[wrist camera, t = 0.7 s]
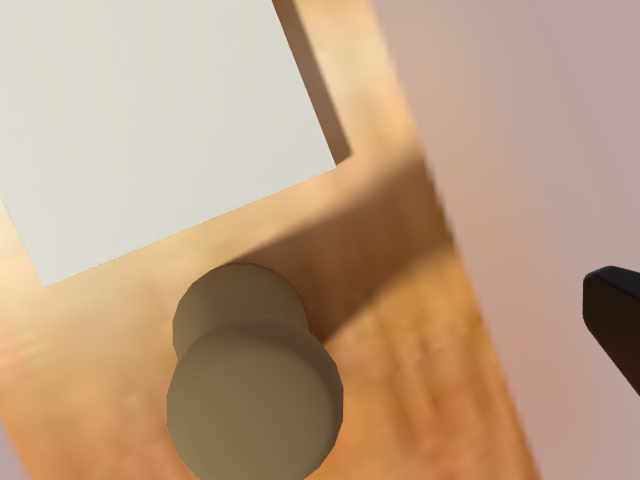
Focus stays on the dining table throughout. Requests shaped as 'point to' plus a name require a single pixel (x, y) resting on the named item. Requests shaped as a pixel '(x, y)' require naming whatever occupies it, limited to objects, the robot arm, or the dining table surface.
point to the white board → (144, 121)
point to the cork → (250, 380)
